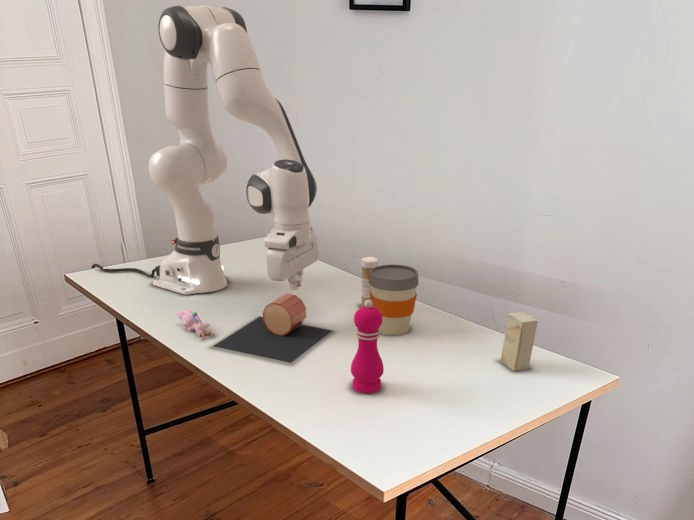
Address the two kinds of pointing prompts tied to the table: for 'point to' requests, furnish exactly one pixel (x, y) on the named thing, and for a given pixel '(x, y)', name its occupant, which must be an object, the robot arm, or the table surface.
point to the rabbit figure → (194, 323)
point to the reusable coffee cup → (394, 296)
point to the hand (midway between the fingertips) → (295, 288)
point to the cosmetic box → (519, 340)
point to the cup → (284, 314)
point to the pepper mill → (367, 350)
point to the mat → (273, 341)
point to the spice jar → (367, 277)
